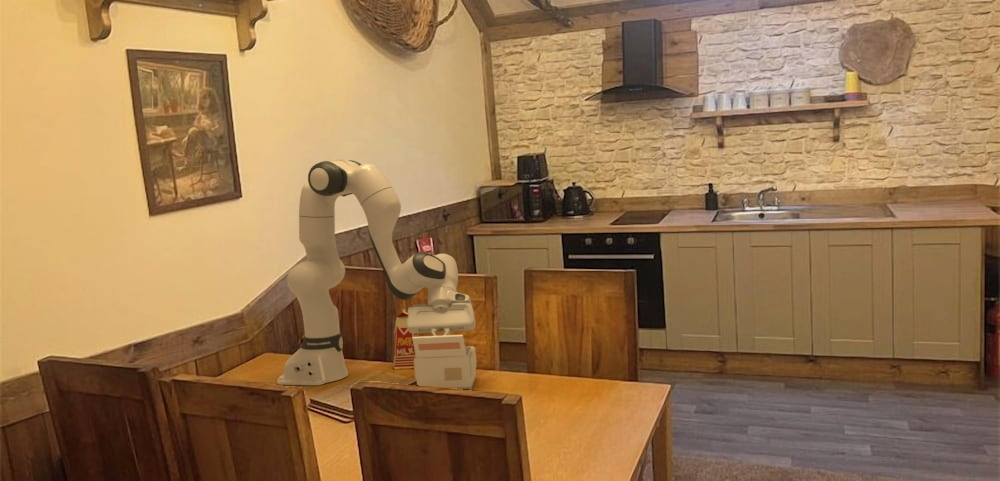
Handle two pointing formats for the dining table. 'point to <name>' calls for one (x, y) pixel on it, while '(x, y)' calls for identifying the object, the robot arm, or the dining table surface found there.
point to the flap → (439, 346)
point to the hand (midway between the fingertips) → (440, 343)
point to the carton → (447, 370)
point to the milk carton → (403, 343)
